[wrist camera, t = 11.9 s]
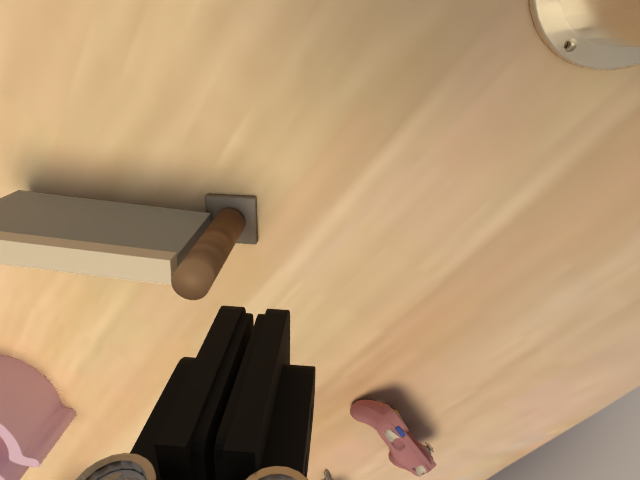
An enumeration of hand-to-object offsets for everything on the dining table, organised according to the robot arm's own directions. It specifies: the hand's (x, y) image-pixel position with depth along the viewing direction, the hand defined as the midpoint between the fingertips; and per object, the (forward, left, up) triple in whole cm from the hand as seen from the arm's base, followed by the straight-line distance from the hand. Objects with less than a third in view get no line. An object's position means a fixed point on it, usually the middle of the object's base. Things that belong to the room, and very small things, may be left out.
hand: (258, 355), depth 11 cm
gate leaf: (+18, +7, -26) cm, 33 cm away
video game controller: (-9, +32, -27) cm, 43 cm away
